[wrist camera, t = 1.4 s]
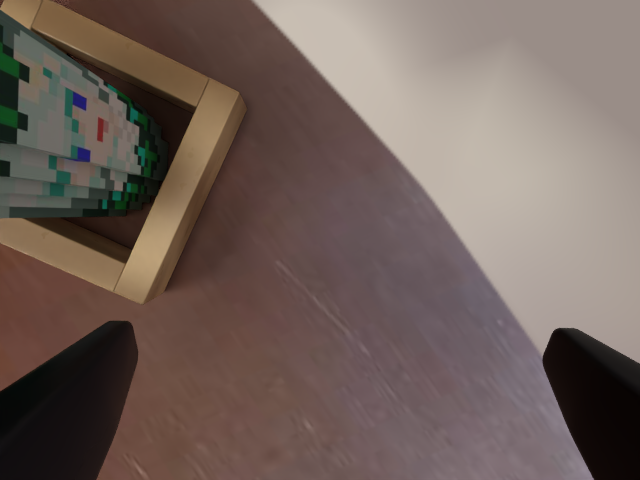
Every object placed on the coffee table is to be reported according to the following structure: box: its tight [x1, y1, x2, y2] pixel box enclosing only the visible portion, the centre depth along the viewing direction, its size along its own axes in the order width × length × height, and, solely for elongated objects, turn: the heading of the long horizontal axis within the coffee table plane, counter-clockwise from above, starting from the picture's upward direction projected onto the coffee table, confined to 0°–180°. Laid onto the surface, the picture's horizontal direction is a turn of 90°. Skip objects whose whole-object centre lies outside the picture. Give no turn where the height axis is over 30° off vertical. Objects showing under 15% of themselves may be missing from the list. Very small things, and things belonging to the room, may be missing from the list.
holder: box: [0, 0, 247, 305], centre depth 20 cm, size 11×11×3 cm
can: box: [0, 10, 169, 218], centre depth 14 cm, size 6×6×15 cm
